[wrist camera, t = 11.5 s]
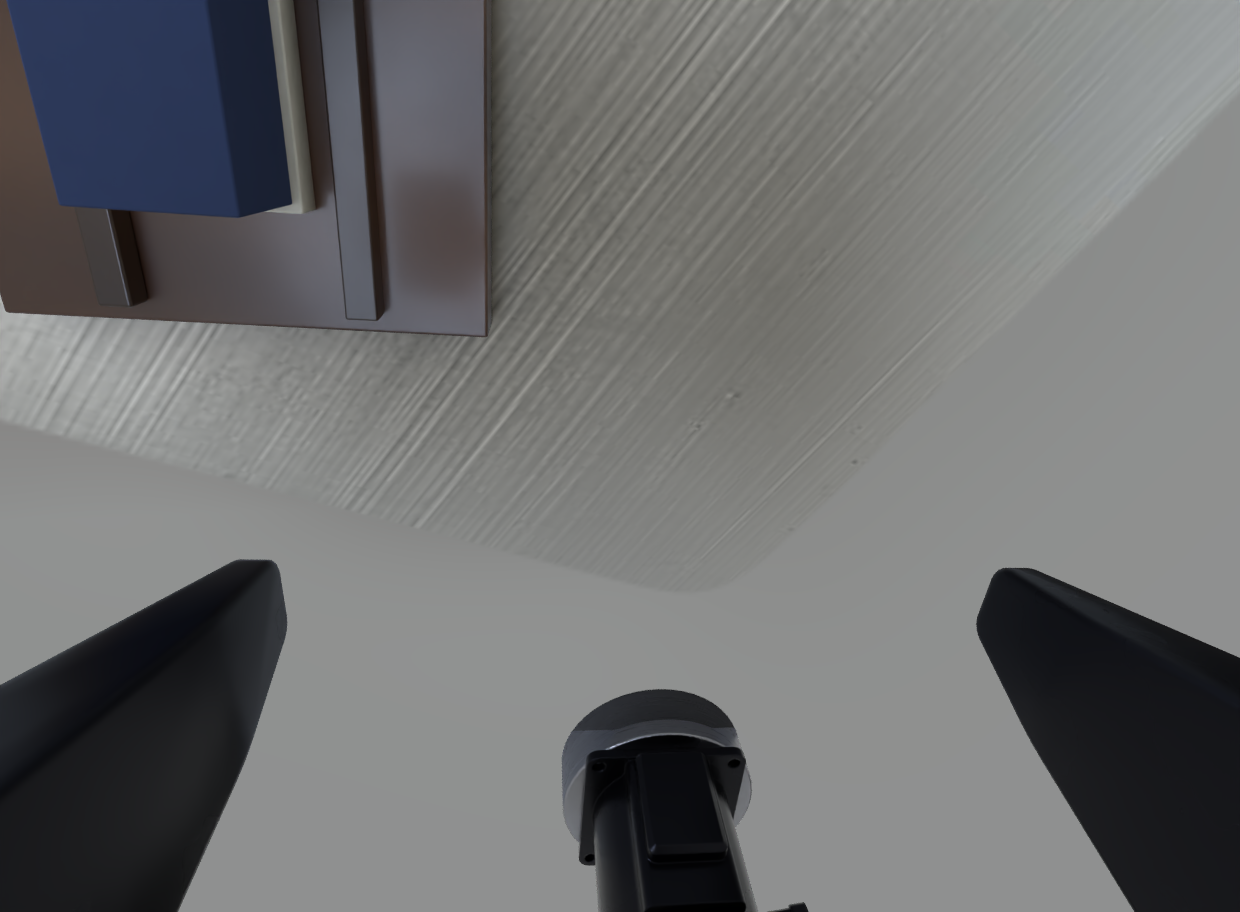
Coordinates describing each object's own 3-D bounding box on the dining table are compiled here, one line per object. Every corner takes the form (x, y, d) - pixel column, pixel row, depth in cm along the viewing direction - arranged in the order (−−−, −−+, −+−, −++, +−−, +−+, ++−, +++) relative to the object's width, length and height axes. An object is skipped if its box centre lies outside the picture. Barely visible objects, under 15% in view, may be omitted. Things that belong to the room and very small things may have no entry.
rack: (491, 324, 20) (485, 346, 18) (45, 300, 18) (-20, 321, 16) (491, -344, 14) (481, -429, 12) (-169, -460, 12) (-312, -580, 10)
